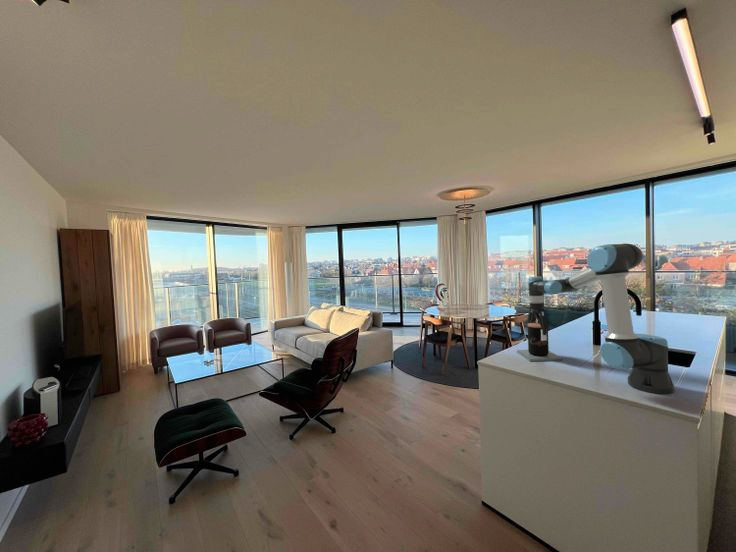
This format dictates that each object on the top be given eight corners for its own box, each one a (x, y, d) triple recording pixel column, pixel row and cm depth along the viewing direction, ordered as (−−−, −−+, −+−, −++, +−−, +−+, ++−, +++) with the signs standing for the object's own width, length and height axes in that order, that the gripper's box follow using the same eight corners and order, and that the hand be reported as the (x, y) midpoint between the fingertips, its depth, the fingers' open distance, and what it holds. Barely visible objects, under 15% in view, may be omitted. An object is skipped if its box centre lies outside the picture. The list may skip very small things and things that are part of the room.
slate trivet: (562, 360, 172) (562, 358, 172) (530, 361, 174) (529, 359, 173) (546, 350, 190) (545, 348, 190) (516, 352, 191) (516, 350, 191)
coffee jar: (528, 355, 180) (527, 326, 179) (528, 350, 189) (527, 322, 188) (549, 357, 174) (548, 326, 174) (548, 352, 184) (547, 323, 183)
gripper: (554, 304, 168) (556, 342, 168) (533, 299, 192) (534, 332, 193) (540, 305, 168) (542, 343, 169) (520, 300, 193) (522, 333, 194)
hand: (538, 337), depth 181 cm, fingers open, 13 cm apart
